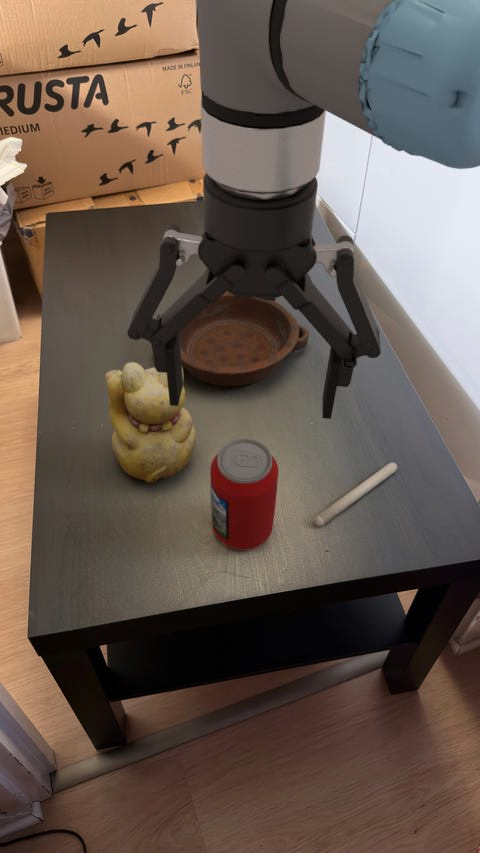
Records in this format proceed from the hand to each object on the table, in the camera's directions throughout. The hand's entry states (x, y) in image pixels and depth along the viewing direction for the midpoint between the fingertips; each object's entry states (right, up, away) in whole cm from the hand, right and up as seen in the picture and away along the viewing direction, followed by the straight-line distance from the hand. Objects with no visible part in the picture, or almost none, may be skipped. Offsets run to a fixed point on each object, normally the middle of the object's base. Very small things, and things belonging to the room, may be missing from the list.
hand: (251, 401), depth 56 cm
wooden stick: (+13, -10, +16) cm, 23 cm away
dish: (-2, +8, +32) cm, 33 cm away
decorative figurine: (-11, -7, +19) cm, 23 cm away
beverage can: (-1, -14, +13) cm, 19 cm away
